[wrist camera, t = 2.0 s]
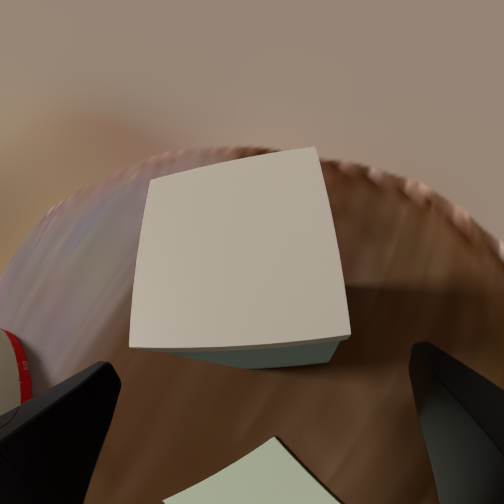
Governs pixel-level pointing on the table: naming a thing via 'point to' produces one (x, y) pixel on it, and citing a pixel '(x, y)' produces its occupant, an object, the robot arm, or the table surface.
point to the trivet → (258, 482)
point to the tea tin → (241, 265)
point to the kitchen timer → (13, 373)
